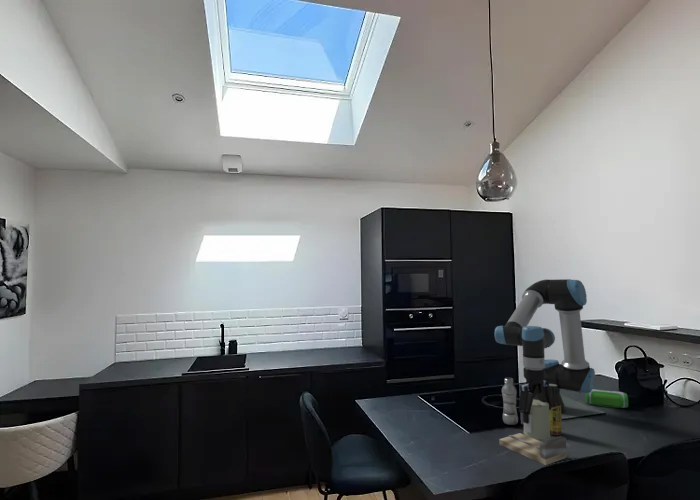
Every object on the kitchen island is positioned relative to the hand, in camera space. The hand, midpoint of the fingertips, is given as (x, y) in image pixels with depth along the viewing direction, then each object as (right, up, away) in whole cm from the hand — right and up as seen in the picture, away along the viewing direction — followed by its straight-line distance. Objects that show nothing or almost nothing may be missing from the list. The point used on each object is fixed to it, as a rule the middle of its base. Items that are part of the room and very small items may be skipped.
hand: (536, 429), depth 150 cm
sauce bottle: (+15, -10, +18) cm, 25 cm away
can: (0, -2, 0) cm, 2 cm away
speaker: (+59, -11, +50) cm, 78 cm away
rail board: (-1, -9, +2) cm, 9 cm away
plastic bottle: (+2, -11, +28) cm, 30 cm away
